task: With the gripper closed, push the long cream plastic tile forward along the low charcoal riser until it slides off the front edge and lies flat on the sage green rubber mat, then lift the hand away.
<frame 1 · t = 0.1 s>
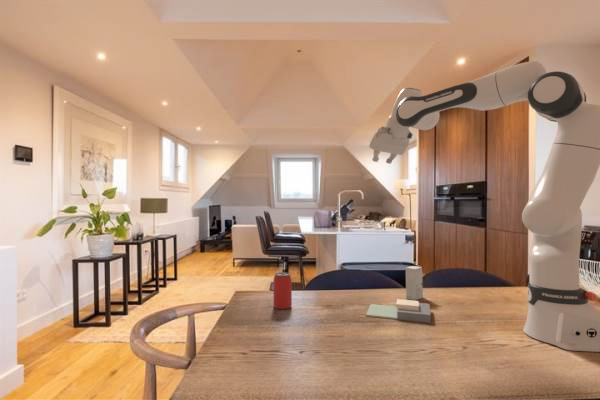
hand: (381, 162, 133), 54 cm above the table, tool tilted 30°, fingers open, 8 cm apart
tile: (407, 306, 110), point 2 cm above the table, touching riser
riser: (413, 315, 109), on the table
mat: (383, 311, 112), on the table
skincare box: (414, 298, 129), on the table
beer can: (282, 307, 118), on the table
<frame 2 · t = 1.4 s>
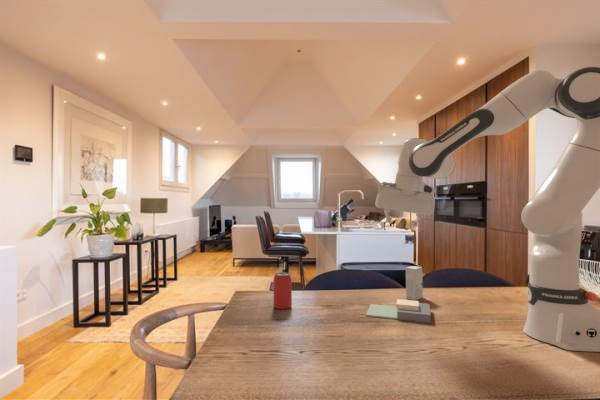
hand: (401, 224, 114), 30 cm above the table, tool pointing down, fingers open, 8 cm apart
nothing on the table moved.
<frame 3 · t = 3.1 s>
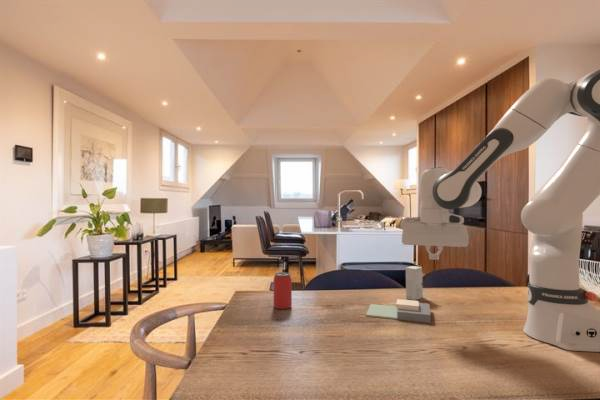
hand: (434, 259, 107), 19 cm above the table, tool pointing down, fingers closed
nothing on the table moved.
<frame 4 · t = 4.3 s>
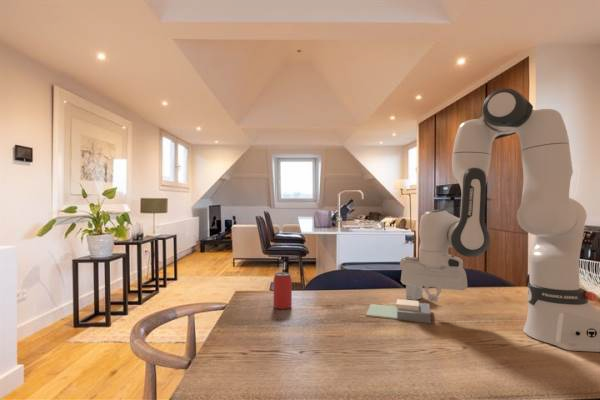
hand: (432, 300, 108), 5 cm above the table, tool pointing down, fingers closed
nothing on the table moved.
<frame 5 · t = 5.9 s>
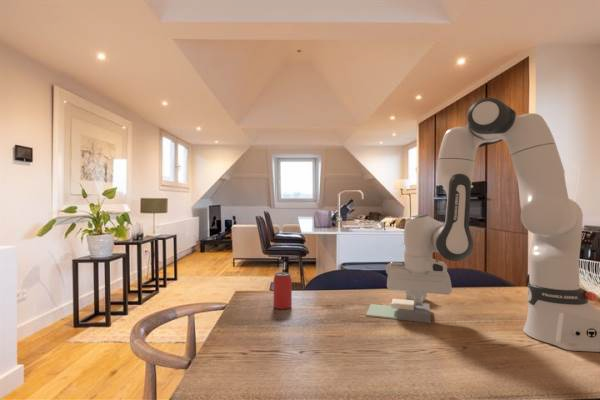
hand: (418, 305, 108), 3 cm above the table, tool pointing down, fingers closed
tile: (402, 306, 110), point 3 cm above the table, touching gripper
everything else where it was.
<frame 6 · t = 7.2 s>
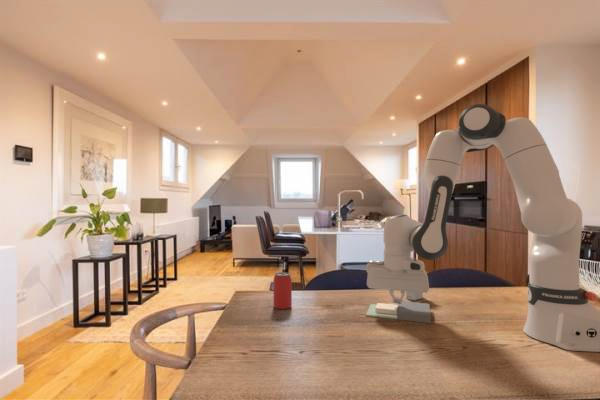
hand: (397, 303, 111), 3 cm above the table, tool pointing down, fingers closed
tile: (386, 310, 112), resting on mat
everything else where it was.
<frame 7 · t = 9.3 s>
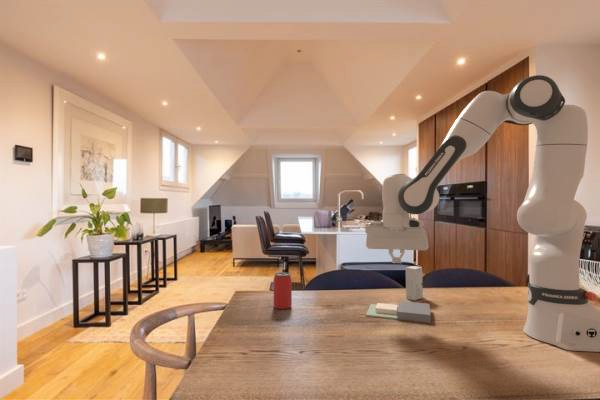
hand: (396, 262, 111), 17 cm above the table, tool pointing down, fingers closed
nothing on the table moved.
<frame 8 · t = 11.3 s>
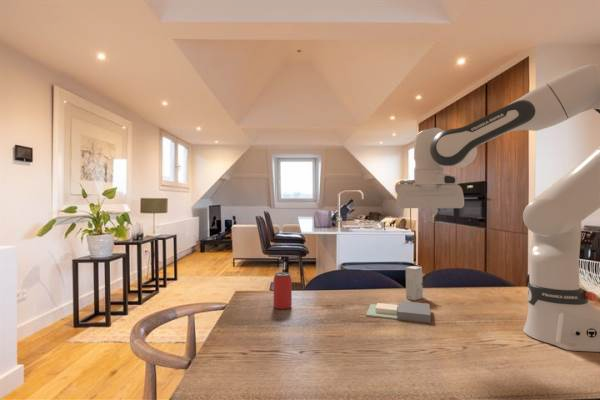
hand: (429, 222, 105), 31 cm above the table, tool pointing down, fingers closed
nothing on the table moved.
at the end: tile inside the target area (1.7 cm from its centre), point 0.5 cm above the table; tile tilted 0°; tile touching mat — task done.
